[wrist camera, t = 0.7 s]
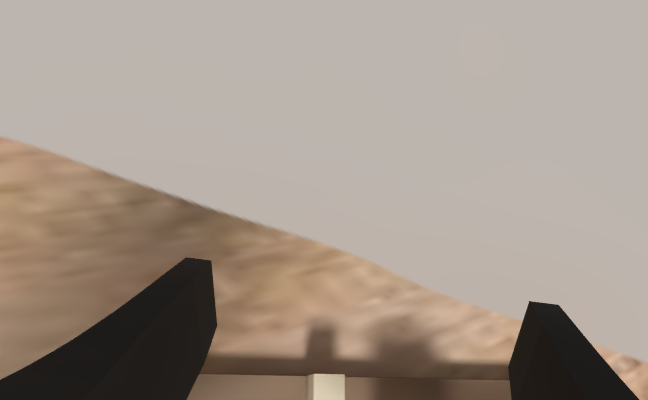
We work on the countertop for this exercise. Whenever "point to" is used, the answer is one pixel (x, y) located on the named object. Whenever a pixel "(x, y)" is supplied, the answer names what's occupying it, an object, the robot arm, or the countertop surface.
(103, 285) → the countertop surface
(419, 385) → the board
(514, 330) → the countertop surface
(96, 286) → the countertop surface
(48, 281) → the countertop surface
